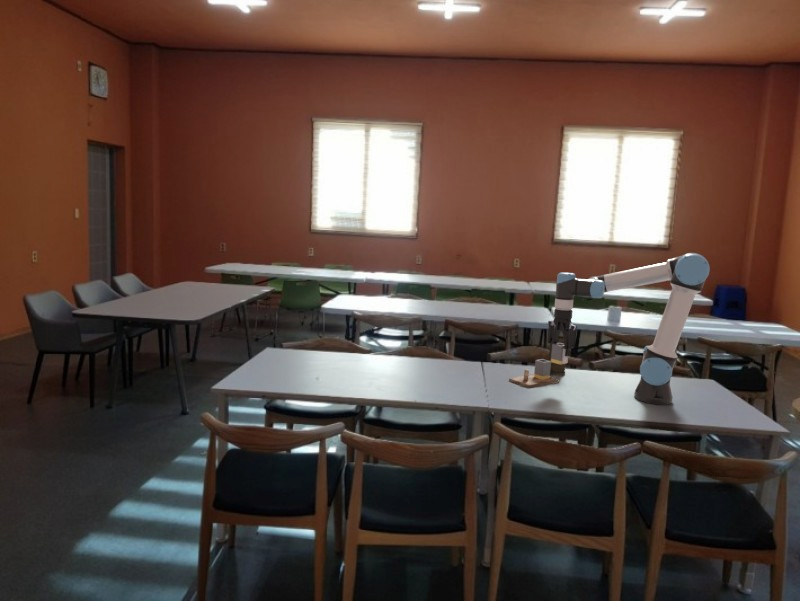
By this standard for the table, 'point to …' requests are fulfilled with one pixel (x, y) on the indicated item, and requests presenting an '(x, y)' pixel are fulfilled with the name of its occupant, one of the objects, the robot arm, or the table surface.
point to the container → (557, 368)
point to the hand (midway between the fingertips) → (559, 361)
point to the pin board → (531, 380)
